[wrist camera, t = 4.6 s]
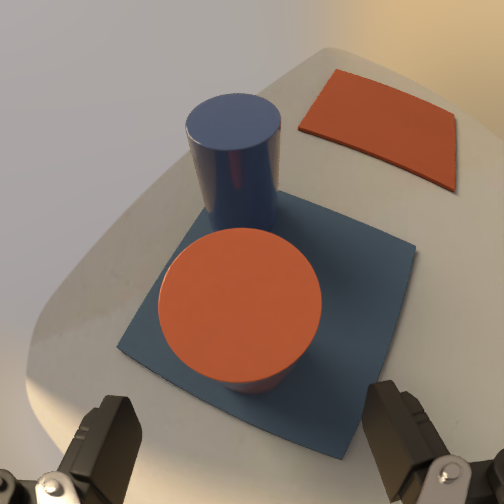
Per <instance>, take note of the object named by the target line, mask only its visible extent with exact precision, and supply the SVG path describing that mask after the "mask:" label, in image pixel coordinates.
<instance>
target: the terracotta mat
mask: <svg viewBox="0 0 504 504" xmlns="http://www.w3.org/2000/svg"><path fill="white" fill-rule="evenodd" d="M298 130H300V131H303V132H306V133H310V134H313V135H316V136H319V137H322V138H325V139H328V140H331V141H333V142H336V143H339V144H342V145H345V146H347V147H350V148H353V149H356V150H358V151H361V152H363V153H366V154H369V155H371V156H374V157H376V158H379V159H381V160H384V161H386V162H388V163H391V164H393V165H396V166H398V167H400V168H403V169H405V170H407V171H409V172H412V173H414V174H416V175H418V176H421V177H423V178H425V179H427V180H429V181H431V182H433V183H436V184H438V185H440V186H442V187H444V188H446V189H448V190H450V191H452V192H454V190H455V161H456V153H455V120H454V114H452V113H450V112H448V111H446V110H444V109H442V108H440V107H437V106H435V105H433V104H431V103H429V102H426V101H424V100H422V99H419V98H417V97H415V96H412V95H410V94H407V93H405V92H402V91H400V90H397V89H395V88H392V87H389V86H387V85H384V84H381V83H378V82H376V81H373V80H370V79H367V78H364V77H361V76H358V75H354V74H351V73H348V72H345V71H341V70H338V69H336V70H335V72H334V73H333V75H332V76H331V78H330V79H329V81H328V82H327V84H326V85H325V87H324V88H323V90H322V91H321V93H320V94H319V96H318V97H317V99H316V100H315V102H314V103H313V105H312V106H311V108H310V110H309V111H308V113H307V114H306V116H305V117H304V119H303V120H302V122H301V123H300V125H299V127H298Z"/></svg>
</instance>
